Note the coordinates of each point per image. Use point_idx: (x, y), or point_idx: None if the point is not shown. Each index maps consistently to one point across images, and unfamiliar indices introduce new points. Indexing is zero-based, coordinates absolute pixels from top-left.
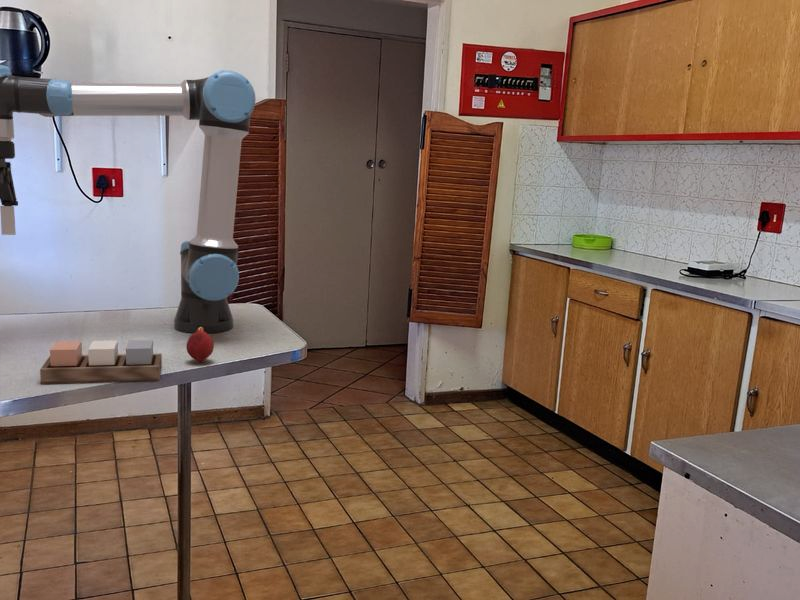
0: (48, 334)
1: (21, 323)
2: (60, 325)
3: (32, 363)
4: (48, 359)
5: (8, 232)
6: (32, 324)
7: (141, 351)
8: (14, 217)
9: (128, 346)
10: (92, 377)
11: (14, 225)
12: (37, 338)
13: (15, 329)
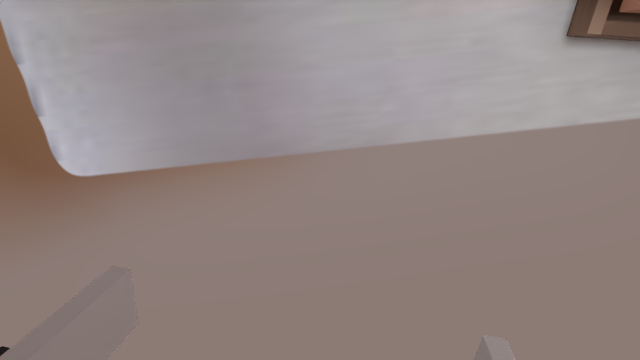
0: (229, 76)
1: (132, 143)
2: (143, 58)
3: (489, 83)
4: (627, 33)
5: (125, 305)
6: (139, 120)
7: None
8: (11, 353)
9: None
10: None
11: (78, 308)
12: (264, 96)
13: (184, 149)
